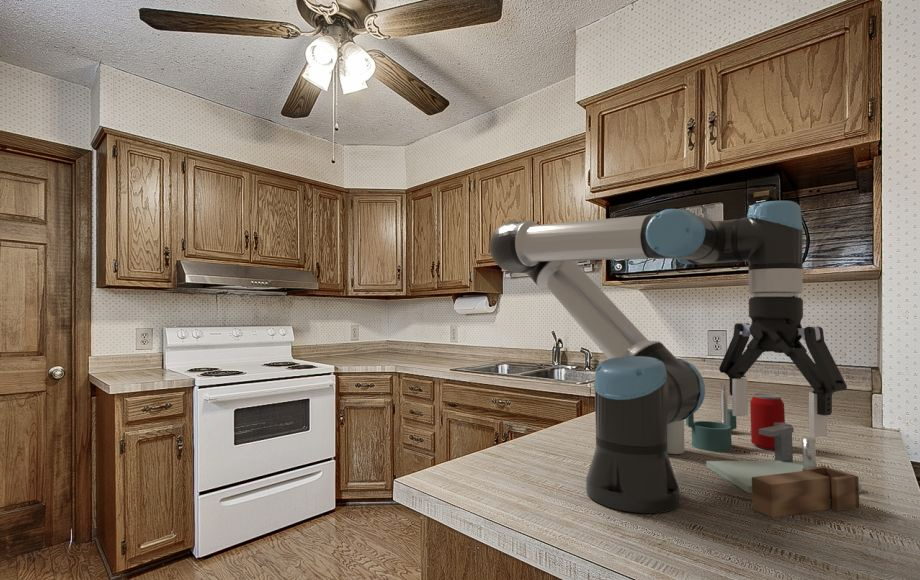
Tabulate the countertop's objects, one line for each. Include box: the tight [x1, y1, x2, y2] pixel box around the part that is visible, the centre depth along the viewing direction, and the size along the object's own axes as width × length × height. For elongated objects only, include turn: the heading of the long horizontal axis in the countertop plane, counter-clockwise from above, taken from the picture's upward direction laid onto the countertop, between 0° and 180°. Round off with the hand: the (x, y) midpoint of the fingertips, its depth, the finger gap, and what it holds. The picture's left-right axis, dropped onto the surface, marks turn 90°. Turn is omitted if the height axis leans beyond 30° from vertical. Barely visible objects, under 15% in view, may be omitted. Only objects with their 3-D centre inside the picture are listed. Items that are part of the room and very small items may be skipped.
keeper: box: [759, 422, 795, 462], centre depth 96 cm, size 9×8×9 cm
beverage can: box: [749, 393, 786, 451], centre depth 112 cm, size 7×7×12 cm
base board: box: [705, 459, 862, 494], centre depth 91 cm, size 20×14×1 cm
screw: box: [715, 381, 729, 424], centre depth 127 cm, size 13×5×5 cm
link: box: [751, 465, 860, 518], centre depth 78 cm, size 17×6×5 cm, turn 106°
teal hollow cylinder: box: [685, 408, 738, 453], centre depth 113 cm, size 9×9×9 cm
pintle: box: [801, 436, 817, 468], centre depth 90 cm, size 2×2×7 cm
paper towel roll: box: [667, 356, 686, 455], centre depth 109 cm, size 7×6×21 cm
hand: (775, 425), depth 79 cm, fingers open, 13 cm apart
